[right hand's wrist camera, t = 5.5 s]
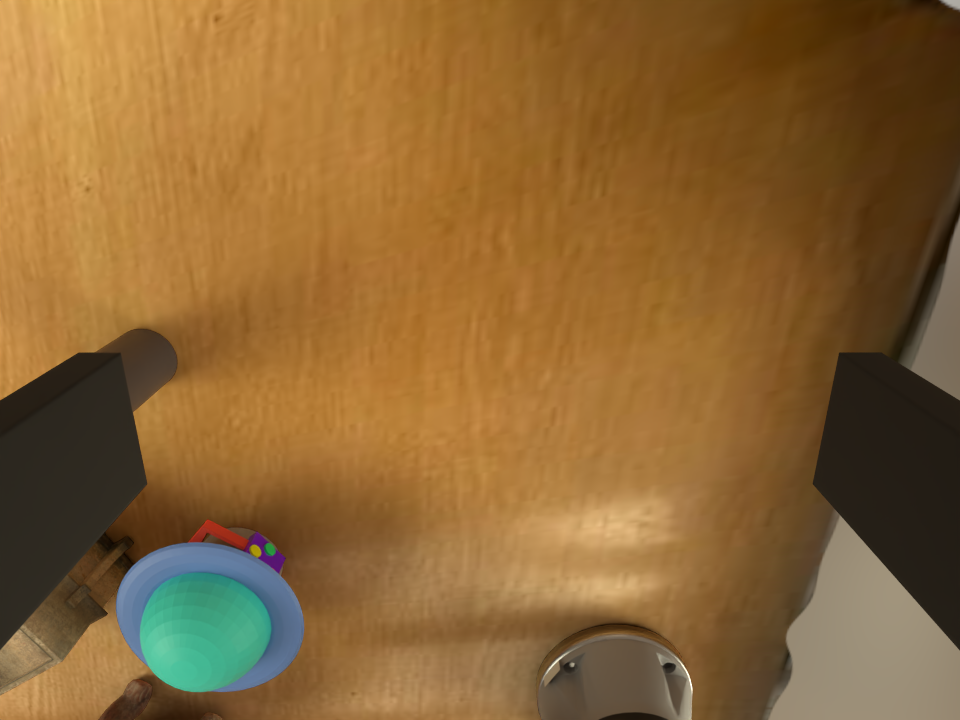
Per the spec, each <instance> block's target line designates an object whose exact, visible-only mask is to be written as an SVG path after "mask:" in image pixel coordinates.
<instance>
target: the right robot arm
mask: <svg viewBox="0 0 960 720" xmlns="http://www.w3.org/2000/svg"><path fill="white" fill-rule="evenodd" d="M146 485H147V480H146V475H145V470H144V465H143V460H142V455H141V451H140V446H139V441H138V436H137V431H136V426H135V421H134V416H133V411H132V406H131V401H130V396H129V391H128V386H127V381H126V376H125V371H124V366H123V361H122V356H121V353H77V354H76V355H74V356H72V357H71V358H69V359H68V360H66V361H64V362H63V363H61V364H59V365H58V366H56V367H54V368H53V369H51V370H50V371H48V372H46V373H45V374H43V375H41V376H40V377H38V378H36V379H35V380H33V381H32V382H30V383H28V384H27V385H25V386H23V387H22V388H20V389H18V390H17V391H15V392H14V393H12V394H10V395H9V396H7V397H5V398H4V399H2V400H0V650H1V649H2V648H3V647H4V645H5V644H6V643H7V642H8V641H9V640H10V639H11V637H12V636H13V635H14V634H15V633H16V632H17V631H18V630H19V628H20V627H21V626H22V625H23V624H24V623H25V622H26V621H27V619H28V618H29V617H30V616H31V615H32V614H33V613H34V611H35V610H36V609H37V608H38V607H39V606H40V605H41V604H42V602H43V601H44V600H45V599H46V598H47V597H48V596H49V595H50V593H51V592H52V591H53V590H54V589H55V588H56V587H57V585H58V584H59V583H60V582H61V581H62V580H63V579H64V578H65V576H66V575H67V574H68V573H69V572H70V571H71V570H72V569H73V567H74V566H75V565H76V564H77V563H78V562H79V561H80V559H81V558H82V557H83V556H84V555H85V554H86V553H87V552H88V550H89V549H90V548H91V547H92V546H93V545H94V544H95V542H96V541H97V540H98V539H99V538H100V537H101V536H102V535H103V533H104V532H105V531H106V530H107V529H108V528H109V527H110V526H111V524H112V523H113V522H114V521H115V520H116V519H117V518H118V516H119V515H120V514H121V513H122V512H123V511H124V510H125V509H126V507H127V506H128V505H129V504H130V503H131V502H132V501H133V500H134V498H135V497H136V496H137V495H138V494H139V493H140V492H141V490H142V489H143V488H144V487H145V486H146ZM813 485H814V486H815V487H816V488H817V489H818V490H819V492H820V493H821V494H822V495H823V496H824V497H825V498H826V500H827V501H828V502H829V503H830V504H831V505H832V506H833V507H834V509H835V510H836V511H837V512H838V513H839V514H840V515H841V516H842V518H843V519H844V520H845V521H846V522H847V523H848V524H849V526H850V527H851V528H852V529H853V530H854V531H855V532H856V533H857V535H858V536H859V537H860V538H861V539H862V540H863V541H864V542H865V544H866V545H867V546H868V547H869V548H870V549H871V550H872V552H873V553H874V554H875V555H876V556H877V557H878V558H879V559H880V561H881V562H882V563H883V564H884V565H885V566H886V567H887V569H888V570H889V571H890V572H891V573H892V574H893V575H894V576H895V578H896V579H897V580H898V581H899V582H900V583H901V584H902V585H903V587H904V588H905V589H906V590H907V591H908V592H909V593H910V594H911V596H912V597H913V598H914V599H915V600H916V601H917V602H918V604H919V605H920V606H921V607H922V608H923V609H924V610H925V611H926V613H927V614H928V615H929V616H930V617H931V618H932V619H933V621H934V622H935V623H936V624H937V625H938V626H939V627H940V628H941V630H942V631H943V632H944V633H945V634H946V635H947V636H948V637H949V639H950V640H951V641H952V642H953V643H954V644H955V645H956V646H957V648H958V649H959V650H960V400H958V399H956V398H955V397H953V396H951V395H950V394H948V393H946V392H945V391H943V390H942V389H940V388H938V387H937V386H935V385H933V384H932V383H930V382H928V381H927V380H925V379H924V378H922V377H920V376H919V375H917V374H915V373H914V372H912V371H910V370H909V369H907V368H906V367H904V366H902V365H901V364H899V363H897V362H896V361H894V360H892V359H891V358H889V357H888V356H886V355H884V354H883V353H839V356H838V361H837V366H836V371H835V376H834V381H833V386H832V391H831V396H830V401H829V406H828V411H827V416H826V421H825V426H824V431H823V436H822V441H821V446H820V451H819V455H818V460H817V465H816V470H815V475H814V480H813ZM536 693H537V703H538V710H539V714H540V717H541V719H542V720H691V715H692V685H691V680H690V677H689V674H688V672H687V669H686V666H685V664H684V661H683V659H682V657H681V655H680V654H679V652H678V651H677V650H676V648H675V647H674V646H673V645H672V644H671V643H670V642H668V641H667V640H666V639H665V638H663V637H661V636H660V635H658V634H656V633H654V632H652V631H649V630H647V629H643V628H640V627H635V626H629V625H604V626H598V627H593V628H590V629H586V630H583V631H581V632H578V633H576V634H574V635H572V636H570V637H568V638H567V639H565V640H564V641H562V642H561V643H559V644H558V645H557V646H556V647H555V648H554V649H553V650H552V651H551V652H550V653H549V654H548V655H547V657H546V658H545V660H544V661H543V663H542V665H541V667H540V669H539V672H538V675H537V680H536Z"/></svg>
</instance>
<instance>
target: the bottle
mask: <svg viewBox="0 0 960 720" xmlns="http://www.w3.org/2000/svg"><path fill="white" fill-rule="evenodd" d="M95 353H121V356H122V361H123V366H124V371H125V376H126V381H127V386H128V391H129V396H130V401H131V406H132V411H133V412H134V411H135V410H136V409H137V408H138V407H140V406H141V405H142V404H143V403H144V402H145V401H146V400H148V399H149V398H150V397H151V396H152V395H153V394H154V393H155V392H157V391H158V390H159V389H160V388H161V387H162V386H163V385H165V384H166V383H167V382H168V381H169V380H170V379H171V378H172V377H173V375H174V374H175V372H176V368H177V357H176V353H175V351H174V349H173V347H172V345H171V344H170V343H169V342H168V341H167V340H166V339H165V338H164V337H163V336H161V335H160V334H158V333H156V332H153V331H151V330H146V329H135V330H131V331H129V332H127V333H125V334H123V335H122V336H120V337H119V338H117V339H116V340H114V341H112V342H111V343H109V344H108V345H106V346H105V347H103V348H101V349H100V350H98V351H97V352H95Z"/></svg>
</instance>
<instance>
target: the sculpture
mask: <svg viewBox="0 0 960 720" xmlns="http://www.w3.org/2000/svg"><path fill="white" fill-rule="evenodd" d="M151 694H152V686H151V685H150V684H149V683H147V682H145V681H142V680H140V679H136V680H132V681H131V682H130V683H129V684H128V685H127V687H126V689H125V691H124V693H123V695H122V696H121V697H119V698H118V699H117V700H116V701H115V702H113V703H112V704H111V705H110V706H109V707H108V708H107V710H106V711H105V712H104V713H103V714H102V716H101V717H100V718H99V720H134V719H135V718H136V717H137V716H138V715H140V714H141V712H142V711H143V710H144V709H145V707H146V706H147V704H148V702H149V699H150V697H151ZM201 720H222V718H221V717H220V716H218V715H217V714H214V713H210V712H207V713H205V714H204V716H203V717H202V718H201Z"/></svg>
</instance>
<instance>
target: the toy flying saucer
mask: <svg viewBox="0 0 960 720" xmlns="http://www.w3.org/2000/svg"><path fill="white" fill-rule="evenodd" d="M207 533H209V534H211V535H210V536H209V537H208V538H207V539H206V540H205V541H204V542H203V540H204V538H205V536H206V534H207ZM202 542H203V543H202ZM285 559H286V558H285V557H284V556H283V555H282V554H281V553H280V552H279V551H278V549H277V547H276V546H275V545H274V544H273V543H272V542H271V541H270V540H269V539H268V538H266V537H265V536H264V535H262V534H260V533H258V532H256V531H253V530H250V529H246V528H236V527H232V528H224V527H222V526H220V525H218V524H216V523H214V522H212V521H210V520H208V519H207V520H206V522H205V523H204V524H203V525H202V526H201V527H200V529H199V530H198V531H197V532H196V533H195V534H194V536H193V537H192V538H191V539H190V540H189V541H188V543H181V544H175V545H170V546H167V547H164V548H161V549H158V550H156V551H154V552H152V553H149V554H148V555H146V556H145V557H143V558H142V559H140V560H139V561H138V562H137V563H136V564H135V565H133V566H132V567H131V569H130V570H129V571H128V572H127V574H126V575H125V577H124V578H123V580H122V582H121V584H120V587H119V590H118V593H117V599H116V614H117V619H118V623H119V626H120V629H121V632H122V634H123V636H124V638H125V640H126V642H127V643H128V645H129V646H130V648H131V649H132V651H133V652H134V653H135V654H136V655H137V656H138V658H139V659H140V660H142V661H143V662H144V663H145V664H146V665H147V666H148V667H150V669H151V670H152V672H153V673H154V674H155V675H156V676H157V677H158V678H159V679H161V680H162V681H164V682H165V683H167V684H168V685H171V686H173V687H175V688H178V689H181V690H184V691H190V692H207V691H215V692H228V691H238V690H244V689H248V688H252V687H255V686H258V685H260V684H263V683H265V682H267V681H269V680H271V679H273V678H274V677H276V676H277V675H279V674H280V673H281V672H283V671H284V670H285V669H286V668H287V667H288V666H289V665H290V664H291V663H292V661H293V660H294V658H295V657H296V655H297V653H298V651H299V649H300V647H301V644H302V640H303V634H304V619H303V614H302V610H301V607H300V604H299V602H298V599H297V598H296V596H295V594H294V592H293V590H292V589H291V588H290V586H289V585H288V584H287V582H286V581H285V580H284V579H283V578H282V577H281V575H282V571H283V563H284V561H285Z"/></svg>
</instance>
